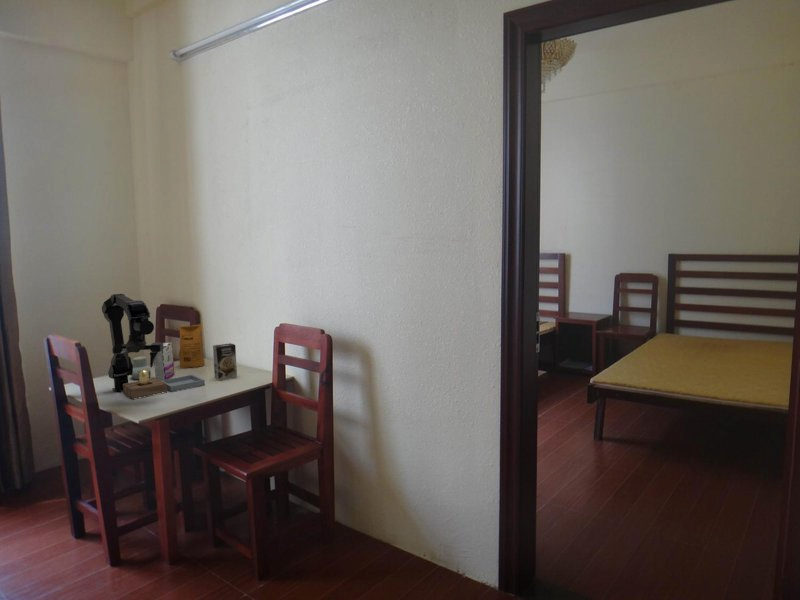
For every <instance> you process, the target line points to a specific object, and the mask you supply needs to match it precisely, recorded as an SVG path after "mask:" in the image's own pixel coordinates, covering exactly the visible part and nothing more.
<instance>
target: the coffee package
mask: <svg viewBox="0 0 800 600" xmlns="http://www.w3.org/2000/svg"><path fill="white" fill-rule="evenodd" d="M178 358H179V368H180V367H181V368H180V369H187V367H188V368H190V367H196V368H200V367H199V366H202V367H203V366H204V365H205V358H204V353H203V336H202V324H201V323H200V324H193V325H181V324H180V325H179V352H178Z"/></svg>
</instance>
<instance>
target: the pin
mask: <svg viewBox="0 0 800 600" xmlns="http://www.w3.org/2000/svg"><path fill="white" fill-rule="evenodd" d="M138 374H139V379H138V381H139V385H140V386H143V385H148V384H149V379H150V376H149V372H148V369H143V370H139V371H138Z"/></svg>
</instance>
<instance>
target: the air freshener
mask: <svg viewBox="0 0 800 600" xmlns="http://www.w3.org/2000/svg"><path fill="white" fill-rule="evenodd" d="M132 364H133V373H132V375H130V376H131V378H132V379H133V380H139V374H138V371H139V370H143V369H148V372H149V377H150V376H151V374H152V372H151V366H150V365H148V363H147V357H146V356H137V357H133V358H132Z"/></svg>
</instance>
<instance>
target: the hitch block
mask: <svg viewBox="0 0 800 600" xmlns="http://www.w3.org/2000/svg"><path fill="white" fill-rule="evenodd" d="M122 392H123V394H124V395H126V396H127V395H128V396H127V397H129V398H130V397H131V399H132V398H133V399H132V400H135V399H134V398H137V399H140V398H139V397H142V398H145V397H144V396H147V397H150V396H149V395H152V396H154V395H153V394H157V393H161V394H163V393H162V392H166V393H168V390H167V386H166V383H164V382H163V381H161V380H159V379H157V378H156V377H152V378H149V384H148V385H143V386H140V385H139V380H137V381H132V382H131V381H130V382H128V383H125V384H123V391H122ZM157 395H158V394H157Z"/></svg>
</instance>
